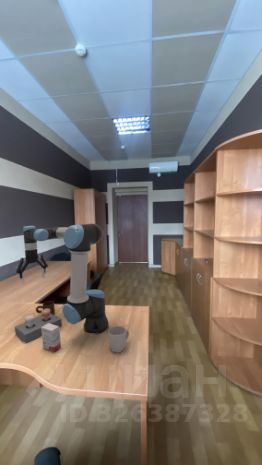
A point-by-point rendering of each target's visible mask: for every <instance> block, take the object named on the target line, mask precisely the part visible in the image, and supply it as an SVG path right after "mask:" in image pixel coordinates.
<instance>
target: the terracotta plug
mask: <svg viewBox="0 0 262 465" xmlns="http://www.w3.org/2000/svg"><path fill="white" fill-rule="evenodd" d="M41 310H42V313H41V316H44V322H46V321H48V320H49V315H50V309H49V308H47V309H43V308H42V309H41Z"/></svg>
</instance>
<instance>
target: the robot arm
mask: <svg viewBox="0 0 262 465" xmlns="http://www.w3.org/2000/svg"><path fill="white" fill-rule="evenodd" d="M22 229H23V230H22V234H23V244H24V254H25V257H20V259H19V262H18V266H17V268H16V271H15V273H16V274H18V275H19V279H20V280H21V284H25V273H24V271H25V270H26V268H27V267H28V265H29V264H35V263H36V264H38V265H39V266H40V267H41V271H40V272H41V279H45V278H46V276H45V274H46V269H47V268H48V267H49V265H48V264H47V262H46V260H45V259H44V256H43V254H38V252H39V251H38V249H37V248H38V244H37V243H38V242H44V241H45V242H46V241H49V240H54V239H55V240H58V239H59V240H61V239H63V243H64V245H65V247H66V248H68V249H67V250H68V251H69V252H70V253H71V254H70V289H69V290H70V291H69V292H70V294H69V295H68V296H67V299H66V303H65V304H63V306H62V314H63V317H64V318H65V320H66V321H67V322H68V323H69V324H71V325H75V324H77V323H81V321H83V320H85V321H84V324H83V330H84V332H85V333H87V334H90V335H92V334H93V335H98V334H102V333H104V332H106V331H107V330H109V327H110V326H109V320H108V317H107V315H106V314H107V313H106V297H105V296H106V295H105V292H104V291H103V290H101V289H88V290H87V280H88V256H89V253H90V252H91V249H92V245H96V244H98V243H99V242H101V240H102V239H103V236H104V235H103V234H104V233H103V229H102V228H101V226H100V225H99V224H96V223H82V224H81V223H80V224H74V225H73V224H72V225H70V226H68V227H63V226H62V227H60V226H58V227H47V228H36V226H35V225H27V226H26V225H25V226H23V228H22ZM39 259H40V261H39ZM41 262H42V263H41Z"/></svg>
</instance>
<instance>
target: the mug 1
mask: <svg viewBox="0 0 262 465" xmlns="http://www.w3.org/2000/svg"><path fill="white" fill-rule="evenodd" d="M47 308H49V309H50V313H51V314H53V315H55V316H56V314H55V313H56V312H55V311H56V310H55V302H54V301H51V300H49V301H45V302H43V303H42V305H38V306H36V308H35V312H36V313H37V314H42V310H43V309H47Z"/></svg>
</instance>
